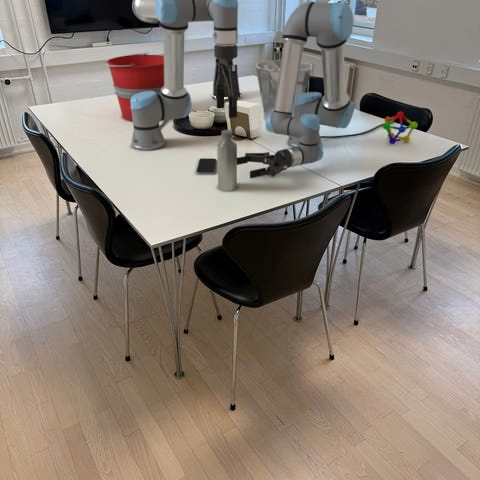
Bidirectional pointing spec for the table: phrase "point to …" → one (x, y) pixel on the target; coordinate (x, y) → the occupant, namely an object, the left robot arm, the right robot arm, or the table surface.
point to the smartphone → (206, 166)
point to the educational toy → (398, 128)
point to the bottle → (227, 165)
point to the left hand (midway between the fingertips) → (226, 112)
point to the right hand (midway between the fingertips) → (241, 168)
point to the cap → (226, 134)
